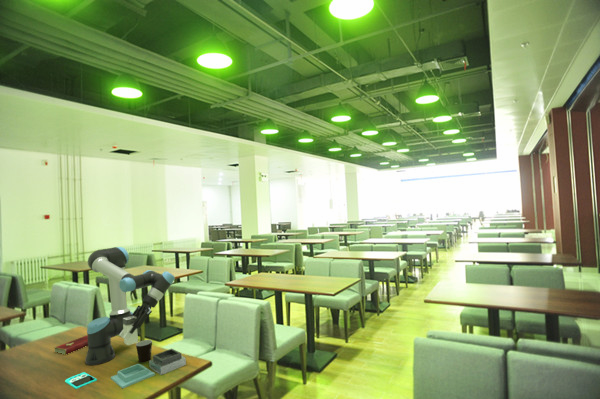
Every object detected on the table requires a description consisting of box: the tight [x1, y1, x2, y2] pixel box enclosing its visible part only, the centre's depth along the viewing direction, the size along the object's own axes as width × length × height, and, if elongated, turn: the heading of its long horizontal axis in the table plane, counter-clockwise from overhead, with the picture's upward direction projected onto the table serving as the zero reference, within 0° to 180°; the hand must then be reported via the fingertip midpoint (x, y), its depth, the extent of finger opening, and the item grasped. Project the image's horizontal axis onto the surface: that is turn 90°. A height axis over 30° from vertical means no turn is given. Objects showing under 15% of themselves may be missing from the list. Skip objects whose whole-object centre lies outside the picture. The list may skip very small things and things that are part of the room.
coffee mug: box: [135, 339, 153, 364], centre depth 199 cm, size 12×9×10 cm
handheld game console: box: [64, 371, 98, 390], centre depth 178 cm, size 10×16×1 cm, turn 53°
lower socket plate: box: [110, 363, 156, 389], centre depth 178 cm, size 16×16×4 cm
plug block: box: [123, 316, 139, 346], centre depth 178 cm, size 5×5×13 cm
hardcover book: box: [53, 334, 88, 356], centre depth 225 cm, size 12×21×4 cm, turn 155°
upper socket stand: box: [148, 348, 187, 376], centre depth 188 cm, size 14×14×6 cm
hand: (123, 337), depth 176 cm, fingers closed on plug block, 5 cm apart
